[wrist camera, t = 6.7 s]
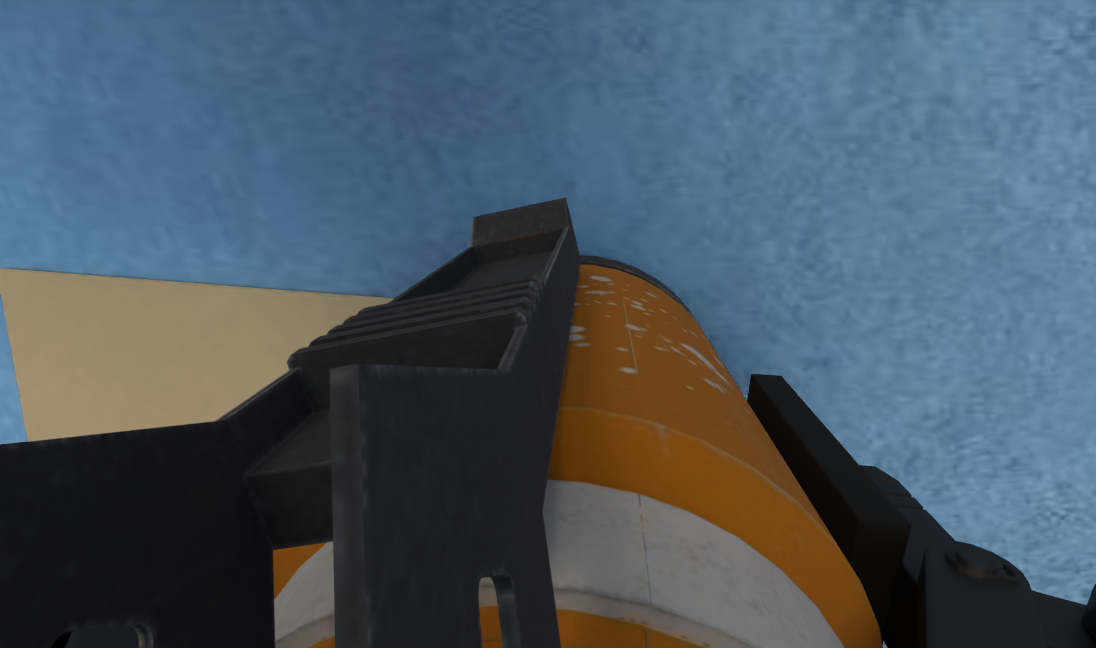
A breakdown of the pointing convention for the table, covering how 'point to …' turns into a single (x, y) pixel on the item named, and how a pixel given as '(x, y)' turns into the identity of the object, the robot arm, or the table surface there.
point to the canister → (446, 486)
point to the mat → (151, 347)
